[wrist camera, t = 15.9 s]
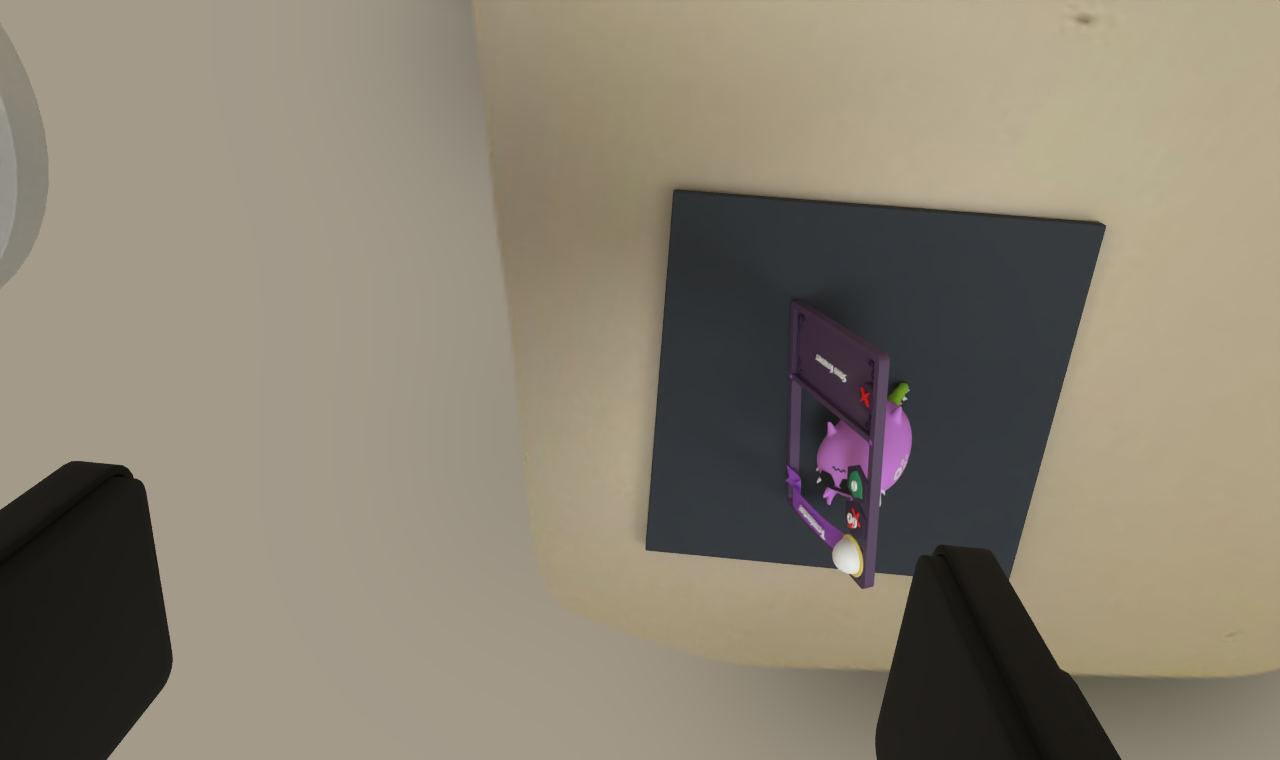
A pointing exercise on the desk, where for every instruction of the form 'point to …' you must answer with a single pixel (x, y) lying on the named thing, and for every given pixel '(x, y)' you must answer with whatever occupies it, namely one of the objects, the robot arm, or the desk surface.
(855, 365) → the purple toy figure
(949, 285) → the mat
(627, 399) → the desk surface
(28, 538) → the robot arm
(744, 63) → the desk surface
